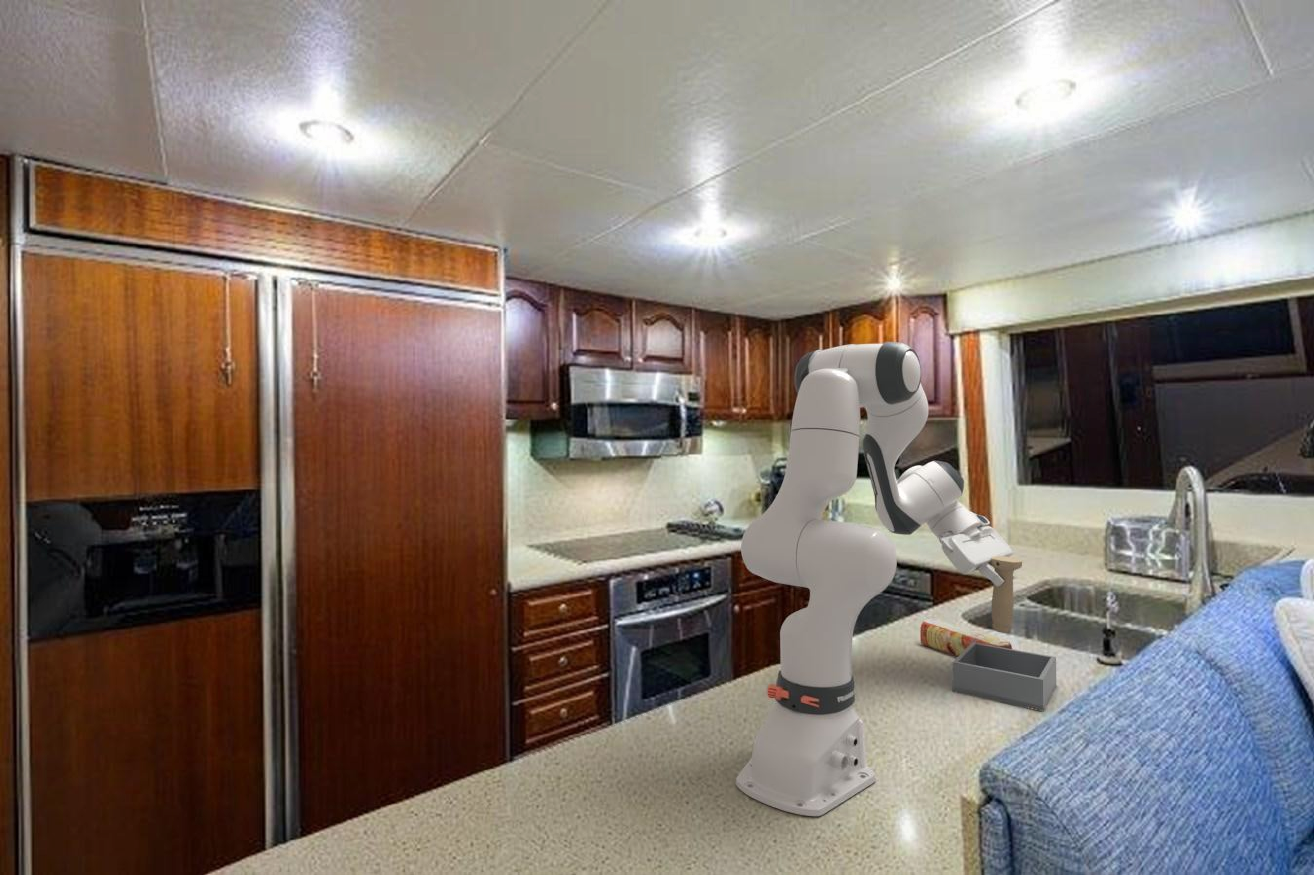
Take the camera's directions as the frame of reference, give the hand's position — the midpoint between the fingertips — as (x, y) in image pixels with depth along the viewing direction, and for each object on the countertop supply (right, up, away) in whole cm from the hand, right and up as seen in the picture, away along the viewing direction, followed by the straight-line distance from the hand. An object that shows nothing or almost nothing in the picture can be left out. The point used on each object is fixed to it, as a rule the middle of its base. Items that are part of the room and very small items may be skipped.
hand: (1006, 582), depth 133 cm
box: (0, -22, 0) cm, 22 cm away
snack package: (+1, -22, +20) cm, 30 cm away
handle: (-1, -10, +1) cm, 10 cm away
